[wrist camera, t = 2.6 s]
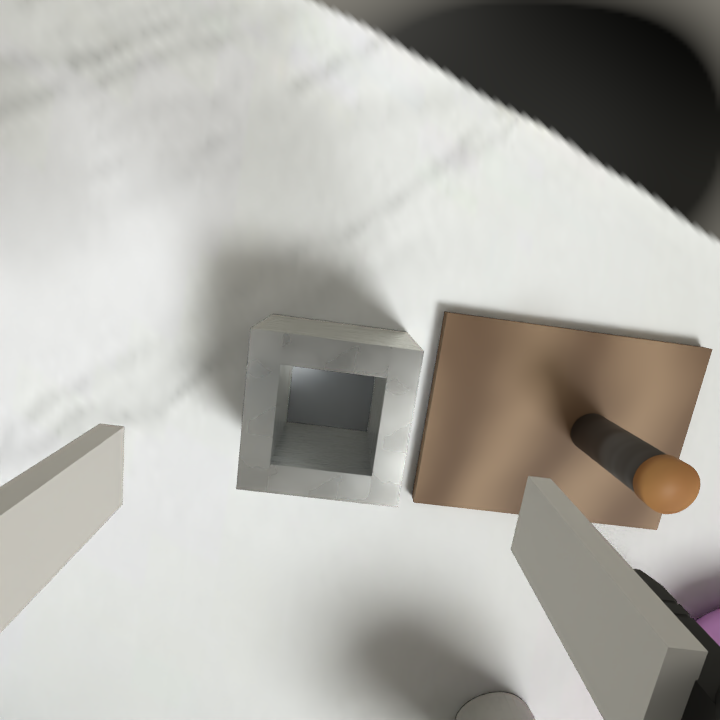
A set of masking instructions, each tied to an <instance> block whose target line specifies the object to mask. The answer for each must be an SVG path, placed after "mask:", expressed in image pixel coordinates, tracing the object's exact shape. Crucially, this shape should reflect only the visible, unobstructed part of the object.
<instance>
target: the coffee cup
mask: <svg viewBox="0 0 720 720" xmlns="http://www.w3.org/2000/svg"><path fill="white" fill-rule="evenodd" d="M455 720H535V718H534V716H533V714H532V712H531V711H530V709H529V707H528V706H527V705H526V704H525V702H524V701H523V700H521V699H520V698H519V697H517V696H515V695H513V694H510V693H505V692H493V693H487V694H484V695H481V696H478V697H476V698H474V699H472V700H471V701H469V702H468V703H466V704H465V705H464V706H463V707H462V708H461V710H460V711H459V712H458V714H457V717H456V719H455Z"/></svg>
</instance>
